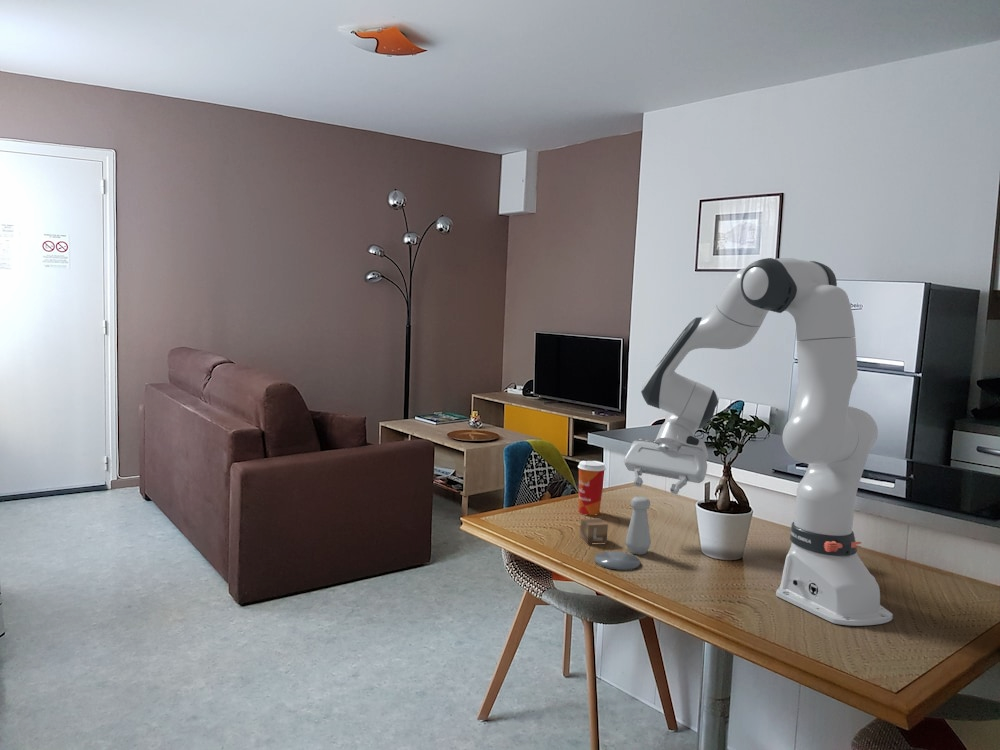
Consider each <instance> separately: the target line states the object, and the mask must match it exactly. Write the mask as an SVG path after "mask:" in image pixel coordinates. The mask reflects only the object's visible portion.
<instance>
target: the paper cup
mask: <svg viewBox="0 0 1000 750" xmlns="http://www.w3.org/2000/svg"><path fill="white" fill-rule="evenodd" d="M577 468H578V513H579V512H580V513H582V514H581V515H583V514H587V515H586V516H588V515H595V514H598V515H599V514H600V511H601V510H600V509H601V502H602V494H603V487H604V480H605V479H604V478H605V470H607V468H606V466H605V462H601V461H599V460H581V461H579V463H578V465H577ZM580 513H579V514H580ZM595 516H596V515H595Z"/></svg>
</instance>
